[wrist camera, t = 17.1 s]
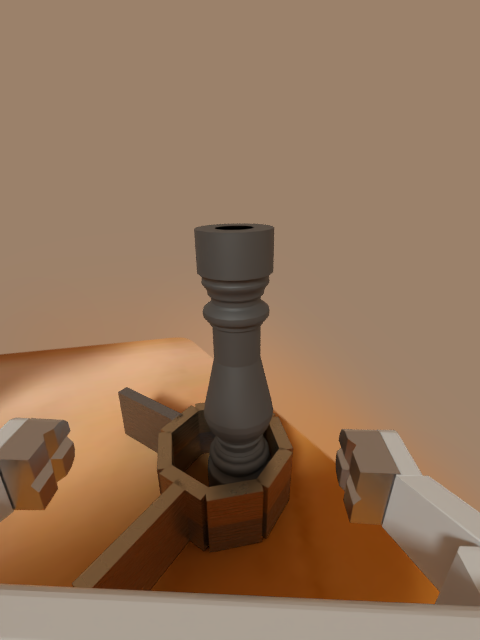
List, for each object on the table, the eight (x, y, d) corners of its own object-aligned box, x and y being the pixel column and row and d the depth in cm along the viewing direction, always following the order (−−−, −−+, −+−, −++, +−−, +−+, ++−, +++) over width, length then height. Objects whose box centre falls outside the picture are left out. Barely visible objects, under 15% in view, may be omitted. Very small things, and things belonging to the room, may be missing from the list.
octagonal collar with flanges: (-4, 526, 29) (-26, 476, 27) (165, 405, 45) (160, 367, 42) (159, 719, 19) (146, 666, 16) (304, 473, 34) (309, 427, 32)
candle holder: (261, 457, 36) (264, 222, 27) (279, 507, 30) (290, 230, 21) (205, 467, 35) (187, 225, 26) (213, 521, 29) (194, 235, 20)
